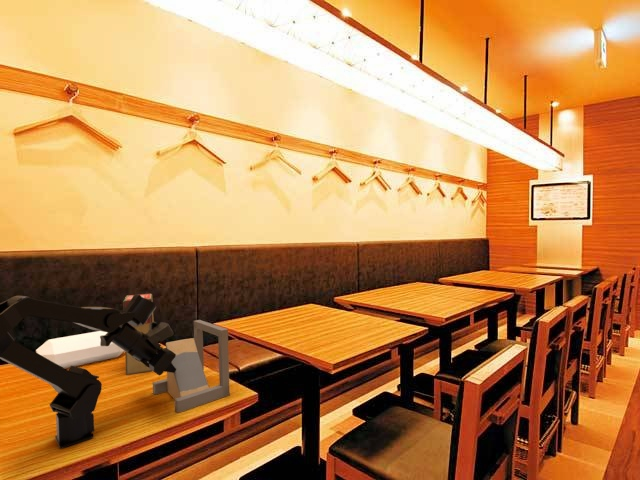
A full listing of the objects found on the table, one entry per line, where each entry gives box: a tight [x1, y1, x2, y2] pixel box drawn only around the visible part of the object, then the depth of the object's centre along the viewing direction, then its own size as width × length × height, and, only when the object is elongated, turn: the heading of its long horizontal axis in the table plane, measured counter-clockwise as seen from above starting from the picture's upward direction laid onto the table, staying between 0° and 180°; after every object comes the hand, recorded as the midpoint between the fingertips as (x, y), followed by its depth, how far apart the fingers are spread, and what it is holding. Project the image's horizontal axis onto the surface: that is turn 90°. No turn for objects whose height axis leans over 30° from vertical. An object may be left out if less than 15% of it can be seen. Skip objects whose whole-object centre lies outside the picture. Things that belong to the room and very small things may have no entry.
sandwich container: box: [165, 337, 210, 400], centre depth 108 cm, size 9×15×15 cm, turn 38°
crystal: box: [35, 330, 125, 369], centre depth 141 cm, size 14×10×28 cm
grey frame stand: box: [152, 319, 230, 414], centre depth 109 cm, size 15×18×19 cm
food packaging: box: [122, 293, 155, 376], centre depth 133 cm, size 13×9×25 cm
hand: (174, 370), depth 107 cm, fingers closed
